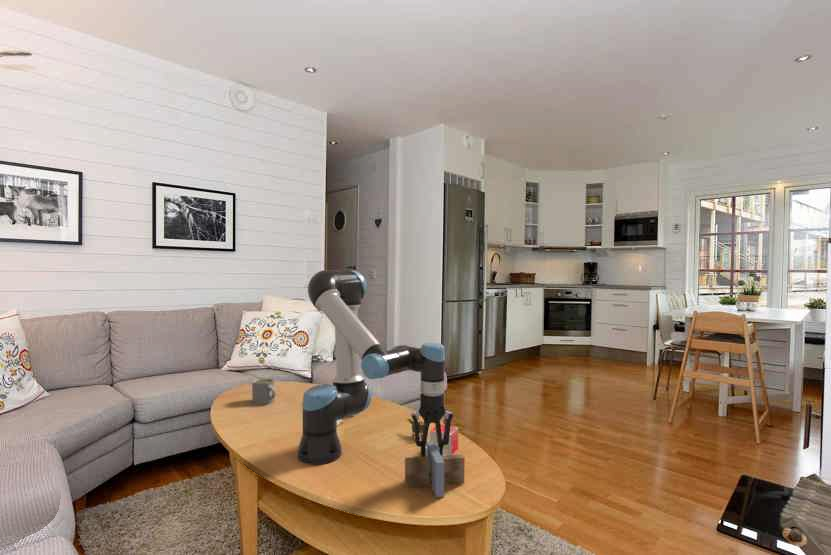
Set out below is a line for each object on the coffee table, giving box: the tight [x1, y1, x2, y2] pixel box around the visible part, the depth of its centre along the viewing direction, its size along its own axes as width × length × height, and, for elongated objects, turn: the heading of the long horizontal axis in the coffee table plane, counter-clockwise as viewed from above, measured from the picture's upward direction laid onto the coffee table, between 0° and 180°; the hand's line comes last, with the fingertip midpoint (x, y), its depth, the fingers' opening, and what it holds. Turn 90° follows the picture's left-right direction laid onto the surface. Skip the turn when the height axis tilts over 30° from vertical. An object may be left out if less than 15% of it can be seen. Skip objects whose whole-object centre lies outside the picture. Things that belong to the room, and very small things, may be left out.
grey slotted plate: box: [426, 440, 445, 498], centre depth 134 cm, size 2×16×10 cm, turn 9°
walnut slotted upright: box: [404, 454, 466, 489], centre depth 134 cm, size 18×2×8 cm, turn 99°
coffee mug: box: [251, 378, 277, 405], centre depth 211 cm, size 13×10×10 cm
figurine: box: [406, 418, 424, 439], centre depth 171 cm, size 3×12×8 cm, turn 37°
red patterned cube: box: [429, 423, 459, 456], centre depth 157 cm, size 8×8×8 cm
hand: (431, 466), depth 139 cm, fingers open, 3 cm apart
